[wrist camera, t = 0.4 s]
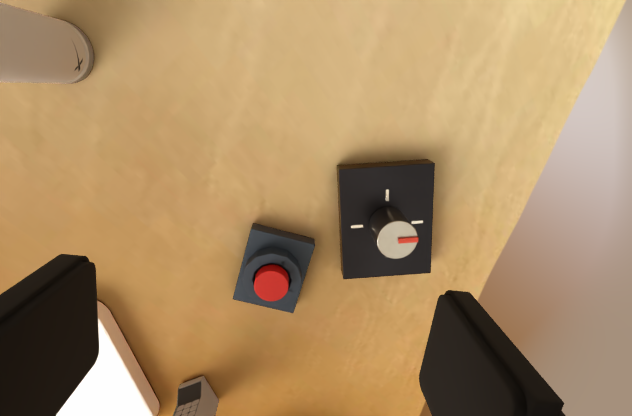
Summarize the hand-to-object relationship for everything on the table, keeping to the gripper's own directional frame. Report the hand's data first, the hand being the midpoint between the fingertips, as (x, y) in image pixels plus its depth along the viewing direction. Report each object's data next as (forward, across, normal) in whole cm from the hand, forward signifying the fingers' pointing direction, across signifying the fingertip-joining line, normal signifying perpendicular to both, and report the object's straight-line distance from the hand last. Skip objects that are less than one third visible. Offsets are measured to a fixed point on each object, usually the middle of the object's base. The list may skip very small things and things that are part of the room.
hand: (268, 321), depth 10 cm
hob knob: (+33, -12, +8) cm, 36 cm away
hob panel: (+36, -12, +8) cm, 38 cm away
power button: (+32, +1, +16) cm, 36 cm away
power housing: (+36, +1, +16) cm, 39 cm away
